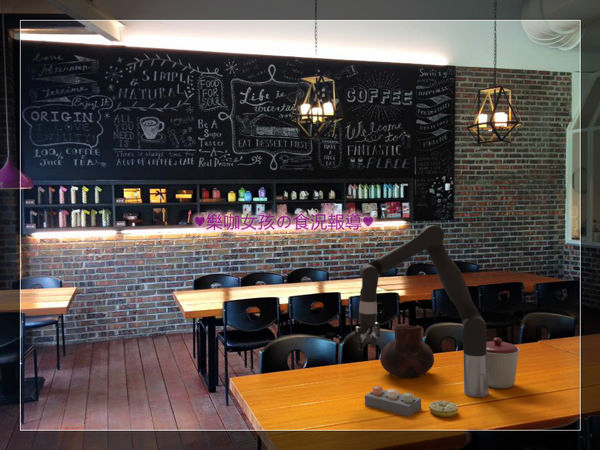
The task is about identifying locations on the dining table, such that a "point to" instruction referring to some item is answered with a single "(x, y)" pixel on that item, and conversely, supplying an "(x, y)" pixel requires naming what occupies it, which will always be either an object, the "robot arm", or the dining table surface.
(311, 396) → the dining table surface
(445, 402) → the decorated donut
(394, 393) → the ivory button
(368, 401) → the block
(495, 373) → the canister
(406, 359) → the jug
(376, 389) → the terracotta button
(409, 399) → the sage button
